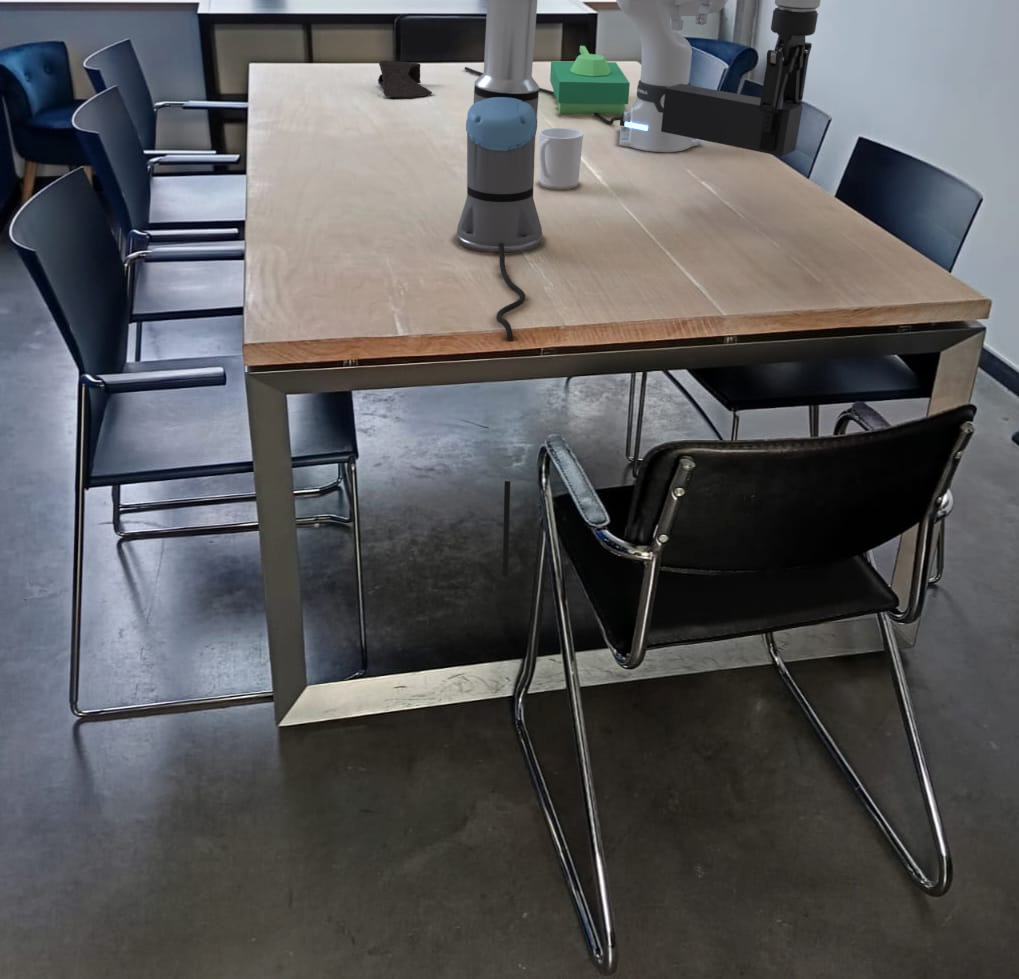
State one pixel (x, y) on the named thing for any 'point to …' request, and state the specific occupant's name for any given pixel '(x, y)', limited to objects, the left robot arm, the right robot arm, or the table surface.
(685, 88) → the bar
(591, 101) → the toy tank
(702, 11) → the right robot arm
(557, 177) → the mug
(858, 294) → the table surface
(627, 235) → the table surface
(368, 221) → the table surface
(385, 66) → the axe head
